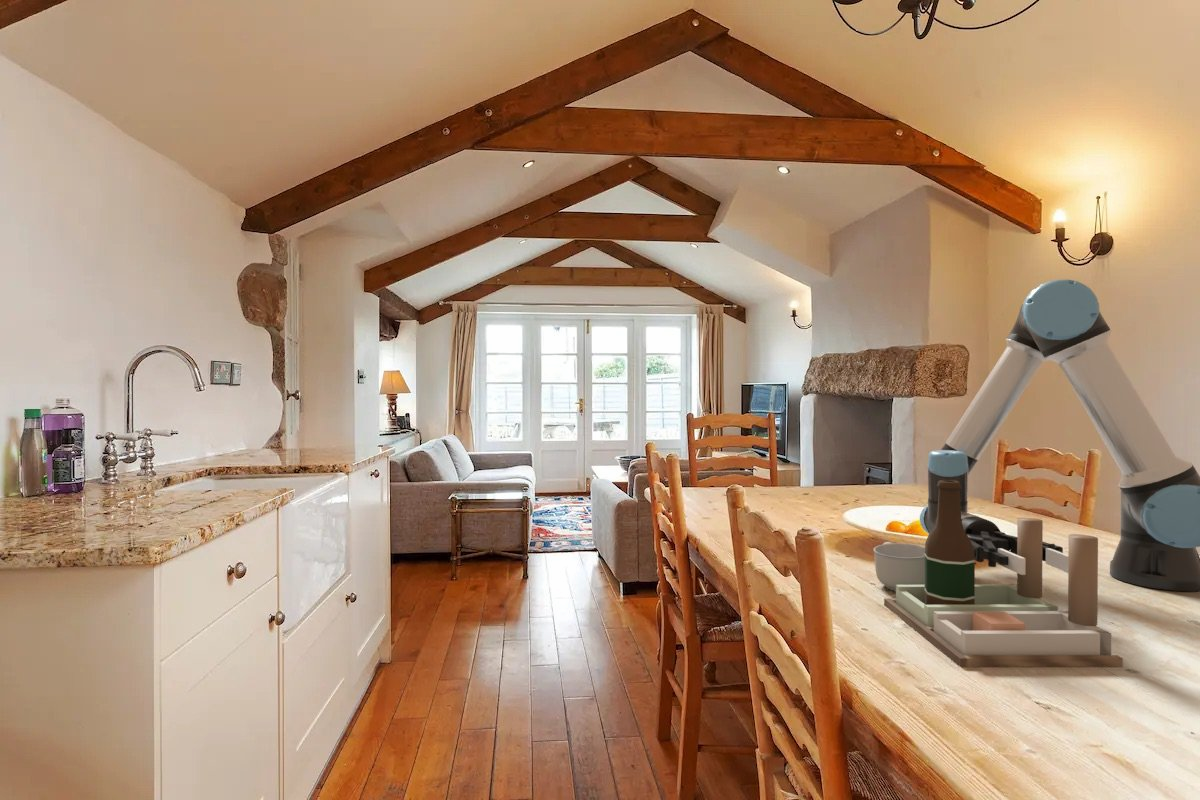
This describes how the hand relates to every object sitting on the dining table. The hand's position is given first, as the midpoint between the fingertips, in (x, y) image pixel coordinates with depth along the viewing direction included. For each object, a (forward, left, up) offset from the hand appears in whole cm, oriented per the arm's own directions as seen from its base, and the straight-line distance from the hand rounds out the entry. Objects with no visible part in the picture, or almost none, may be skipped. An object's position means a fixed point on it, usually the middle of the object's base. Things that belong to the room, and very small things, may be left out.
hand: (1048, 566), depth 107 cm
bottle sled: (+10, -5, -10) cm, 15 cm away
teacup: (+14, -24, -11) cm, 29 cm away
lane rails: (+10, +1, -10) cm, 14 cm away
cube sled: (+10, +8, -10) cm, 16 cm away
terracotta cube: (+13, +8, -11) cm, 18 cm away
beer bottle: (+14, -5, -11) cm, 18 cm away
